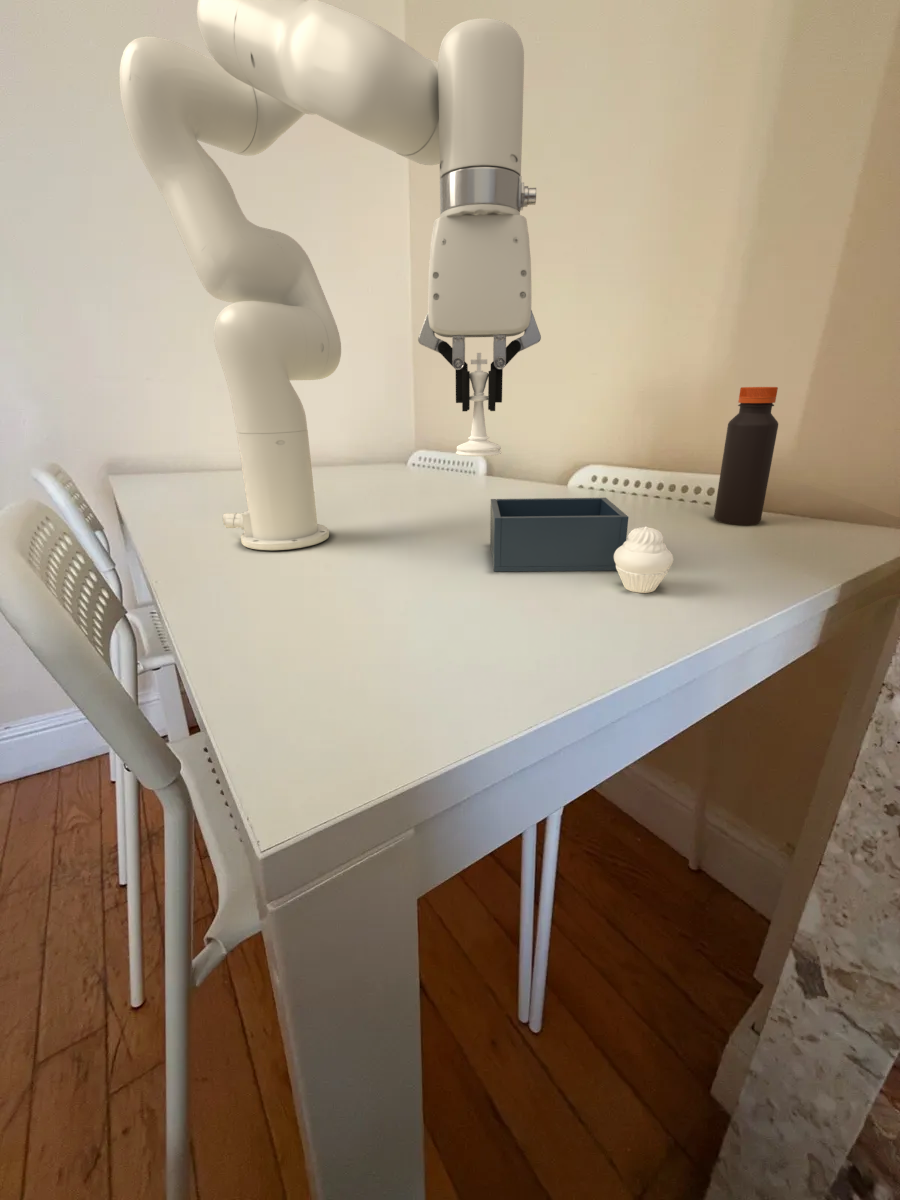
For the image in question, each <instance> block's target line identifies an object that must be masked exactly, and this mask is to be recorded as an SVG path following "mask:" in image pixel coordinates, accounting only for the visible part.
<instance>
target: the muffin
mask: <svg viewBox="0 0 900 1200" xmlns="http://www.w3.org/2000/svg"><path fill="white" fill-rule="evenodd" d="M614 561H615V563H616V569H617V574H618V575H619V576H618V577H619V578H620V580H621V582H622V585H623V587H624V589H626V590H627V591H629V592H633V593H639V594H647V593H648V594H649V593H653V592H655V591H656V589H657V588H658V586H659V585H660V584H661V583H662V581H663V580H664V579H665V577H666V576H667V574H668V573H669V572H670V568H671V567H672V566H673V564H674V555H673V553H672V552H671V551H670V550H669V549H668V548H667V545H666V544H665V542H664V535H663V533H662V532H660V531H659V530H658V529H656V528H653V527H648V526H643V527H641V526H640V527H636V528H634V529H632V530H631V531H630V532H629V533H628V534H627V539H626V541H625V542H624V543H623V545H622V546H620V547H619V548H618V549H617V550H616V551H615V553H614Z"/></svg>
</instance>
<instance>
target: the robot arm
mask: <svg viewBox="0 0 900 1200" xmlns="http://www.w3.org/2000/svg"><path fill="white" fill-rule="evenodd" d="M196 19H197V25H198V29H199V32H200V35H201V38H202V41H203V43H204V45H205V47H206V49H207V51H208V53H210V55H211V57H210V56H208V55H205V54H203V53H201V52H199V51H198V50H195V49H193V48H191V47H189V46H186V45H185V44H182V43H180V42H177V41H175V40H171V39H169V38H164V37H159V36H149V35H148V36H146V35H145V36H141V37H136V38H134V39H132V40H131V41H130V42H129V43H128V44H127V45H126V46H125V48H124V49H123V52H122V55H121V58H120V64H119V74H118V75H119V79H118V81H119V93H120V101H121V106H122V112H123V116H124V120H125V123H126V126H127V131H128V133H129V135H130V138H131V140H132V143H133V145H134V147H135V150H136V151H137V153H138V155H139V157H140V159H141V161H142V163H143V164H144V167H145V168H146V169H147V172H148V173H149V175H150V177H151V178H152V180H153V181H154V183H155V185H156V187H157V188H158V190H159V192H160V193H161V196H162V197H163V199H164V201H165V203H166V206H167V208H168V210H169V213H170V214H171V218H172V220H173V223H174V225H175V227H176V229H177V231H178V234H179V236H180V238H181V240H182V241H181V242H182V243H183V245H184V248H185V250H186V253H187V255H188V258H189V259H190V262H191V265H192V267H193V268H194V270H195V274H196V275H197V277H198V280H199V281H200V283H201V285H202V286H203V288H204V289H205V291H206V293H208V294H209V295H210V296H212V297H213V298H215V299H217V300H220V301H221V302H222V301H223V302H228V303H230V304H228V305H226V306H225V307H223V309H221V311H219V313H218V315H217V317H216V319H215V321H214V325H213V342H214V347H215V350H216V354H217V357H218V360H219V363H220V366H221V369H222V372H223V375H224V378H225V382H226V385H227V389H228V392H229V397H230V401H231V407H232V413H233V419H234V425H235V433H236V437H237V444H238V450H239V452H238V453H239V458H240V464H241V465H240V466H241V471H242V478H243V486H244V492H245V498H246V505H247V510H244V512H242V513H237V512H225V513H223V515H222V523H223V525H224V528H226V529H238V528H241V529H242V530H243V533H242V534H241V535H240V541H241V542H240V543H241V545H243V547H246V548H248V549H251V550H252V549H253V550H256V551H257V550H258V551H287V550H295V549H302V548H307V547H311V546H314V545H318V544H320V543H323V542H324V541H326V540H328V539H329V537H330V531H329V528H328V527H327V526H326V525H324V524H320V523H318V516H317V507H316V506H317V505H316V497H315V487H314V478H313V477H314V476H313V468H312V460H311V449H310V440H309V438H310V437H309V430H308V429H309V428H308V424H307V423H308V422H307V416H306V411H305V408H304V405H303V403H302V400H301V399H300V397H299V395H298V393H297V391H296V390H295V388H294V386H293V384H292V383H291V381H315V380H317V381H318V380H323V379H326V378H328V377H330V376H332V375H333V373H335V372H336V370H337V368H338V367H339V364H340V362H341V357H342V342H341V341H342V340H341V335H340V332H339V329H338V328H339V327H338V324H337V323H336V320H335V318H334V314H333V312H332V309H331V307H330V305H329V303H328V300H327V298H326V296H325V293H324V290H323V288H322V285H321V283H320V280H319V278H318V276H317V273H316V270H315V268H314V265H313V264H312V261H311V259H310V257H309V255H308V253H307V252H306V251H305V250H304V248H303V247H302V245H300V243H299V242H298V241H297V240H296V239H294V238H293V237H291V236H290V235H288V234H286V233H284V232H281V231H278V230H275V229H271V228H266V227H262V226H259V225H256V224H255V223H253V222H251V221H250V220H249V219H248V218H247V217H246V215H245V214H244V212H243V210H242V208H241V207H240V204H239V202H238V200H237V197H236V194H235V192H234V189H233V186H232V185H231V183H230V181H229V179H228V178H227V176H226V175H225V173H224V172H223V170H222V169H221V168H220V167H219V165H218V164H217V162H215V160H214V159H213V158H212V156H210V155H209V153H208V152H207V151H206V150H205V149H204V147H203V146H202V145H201V144H200V142H202V143H205V144H207V145H211V146H214V147H216V148H219V149H222V150H225V151H228V152H230V153H233V154H237V155H240V156H247V157H249V156H256V155H259V154H260V153H263V152H264V151H266V150H267V149H268V148H269V147H272V145H273V144H274V143H275V142H276V141H277V140H278V139H280V137H282V135H284V134H285V133H286V132H287V131H288V130H289V129H290V128H292V126H294V125H295V124H296V123H297V122H298V121H299V120H301V119H302V117H303V116H304V115H312V116H314V115H316V116H319V117H321V118H323V119H325V120H327V121H329V122H331V123H333V124H335V125H337V126H339V127H340V128H342V129H344V130H346V131H349V132H350V133H352V134H354V135H357V136H358V137H360V138H363V139H365V140H368V141H370V142H372V143H375V144H377V145H379V146H381V147H383V148H385V149H386V150H389V151H391V152H394V153H396V154H397V155H399V156H401V157H404V158H406V159H408V160H410V161H413V162H414V163H416V164H420V165H422V166H423V165H424V166H435V165H439V217H437V218H436V219H434V221H433V224H432V231H431V239H430V247H429V258H428V261H429V262H428V279H427V280H428V282H427V313H426V315H425V318H424V321H423V324H422V327H421V330H420V332H419V335H418V338H417V341H418V344H420V345H421V346H423V347H425V348H428V349H430V350H432V351H434V352H436V353H439V354H440V355H441V356H442V357H443V358H444V359H445V360H446V362H448V364H449V365H451V367H452V368H454V369H455V403H456V404H461V410H462V412H468V411H470V410H471V409H470V408H471V405H470V404H471V402H470V401H471V400H469V397H470V396H471V395H470V394H471V390H470V389H471V386H470V385H471V384H470V383H471V380H470V377H469V374H470V373H471V371H469V369H468V367H469V366H468V363H467V362H466V338H492V341H493V343H492V345H493V346H492V351H493V352H492V356H493V357H492V358H493V359H492V362H491V363H490V370H488V372H487V373H488V374H489V376H488V379H487V383H488V384H487V390H488V391H487V396H488V400H487V402H488V403H487V410H488V411H490V412H496V404H497V403H498V404H499V403H503V375H504V373H503V370H504V368H505V367H506V366H507V365H508V364H509V363H510V362H511V361H512V360H513V359H514V357H516V356H517V354H518V353H520V352H522V351H524V350H526V349H528V348H530V347H533V346H535V345H536V344H538V343H539V342H541V340H542V336H541V332H540V330H539V327H538V324H537V320H536V317H535V315H534V313H533V310H532V258H531V248H530V234H529V227H528V221H527V218H526V217H525V216H524V215H521V211H524V208H527V207H528V206H536V203H537V187H529V185H526V186H525V182H522V154H523V153H522V151H523V150H522V149H523V121H524V120H523V117H524V87H525V86H524V85H525V84H524V83H525V82H524V81H525V49H524V45H523V41H522V38H521V36H520V34H519V33H518V30H516V29H515V28H514V27H513V26H511V25H510V24H509V23H507V22H505V21H502V20H499V19H497V18H491V17H490V18H489V17H488V18H487V17H481V18H479V17H478V18H470V19H467V20H464V21H462V22H459V23H457V24H455V25H454V26H452V27H451V28H450V29H449V31H447V32H446V33H445V35H444V36H443V38H442V40H441V42H440V46H439V48H438V49H439V50H438V55H437V60H434V59H431V58H429V57H426V56H425V55H423V54H422V53H420V52H419V51H418V50H417V49H415V48H414V47H412V45H409V44H408V43H407V42H406V41H404V40H403V39H401V38H400V37H398V36H396V35H395V34H393V33H392V32H390V31H389V30H387V29H386V28H384V27H383V26H380V25H379V24H378V23H375V22H373V21H371V20H369V19H367V18H364V17H362V16H360V15H357V14H355V13H352V12H351V11H347V10H345V9H343V8H340V7H337V6H335V5H332V4H330V3H327V2H325V1H322V0H197V7H196ZM520 334H523V335H522V336H519V337H518V338H516V339H513V340H512V341H510V342H509V343H508V345H507V337H515V336H518V335H520ZM436 335H437V336H440V337H442V338H451V340H452V341H451V342H452V343H451V344H452V346H451V345H450V344H449V343H448V342H447V341H445V340H444V339H441V338H438V337H437V336H436Z"/></svg>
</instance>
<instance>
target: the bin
mask: <svg viewBox="0 0 900 1200" xmlns="http://www.w3.org/2000/svg"><path fill="white" fill-rule="evenodd" d="M629 517H630V516H628V514H626V513H625V512H623V511H622V510H621V508H619V507H618V506H616V505H615V504H614V503H613V502H612V501H611V500H610V499H608V497H548V498H547V497H541V498H539V497H538V498H491V499H490V524H489V525H490V527H489V528H490V529H489V530H490V531H489V533H490V534H489V535H490V536H489V538H490V539H489V540H490V542H489V546H490V553H491V562H492V567H493V572H584V571H585V572H593V571H595V572H596V571H597V572H598V571H599V572H601V571H602V572H608V571H609V572H611V571H613V572H615V571H617V569H616V563H615V561H614V553H615V551H616V550H617V549H618V548H619V547H620V546H622V545H623V543H624V542H625V541H626V540H627V539H628V528H629ZM617 572H618V571H617Z"/></svg>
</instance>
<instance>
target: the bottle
mask: <svg viewBox="0 0 900 1200" xmlns="http://www.w3.org/2000/svg"><path fill="white" fill-rule="evenodd" d="M778 389H779V388H778V387H777V386H742V387H740V389H739V394H738V401H737V403H739V404H738V405H737V406H738V407H739V410H738V413H737V414H735V416H734V417H733V418H732V419H730V420H729V421H728V424H727V427H726V434H725V440H724V447H723V452H722V453H723V454H722V459H721V460H722V461H721V467H720V474H719V481H718V485H717V486H718V487H717V492H716V499H715V506H714V512H713V513H714V514H713V518H714V520H715V521H717V522H719V523H721V524H722V523H723V524H727V525H735V526H754V525H758V524H760V523H761V520H762V516H763V511H764V505H765V504H764V503H765V499H766V496H767V495H766V494H767V489H768V483H769V478H770V472H771V467H772V461H773V456H774V451H775V445H776V441H777V436H778V435H777V434H778V430H779V422H778V420H777V419H776V418H775V416H774V415H773V414H772V409H773V407H775V404H776V401H777V395H778ZM774 403H775V404H774Z"/></svg>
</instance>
